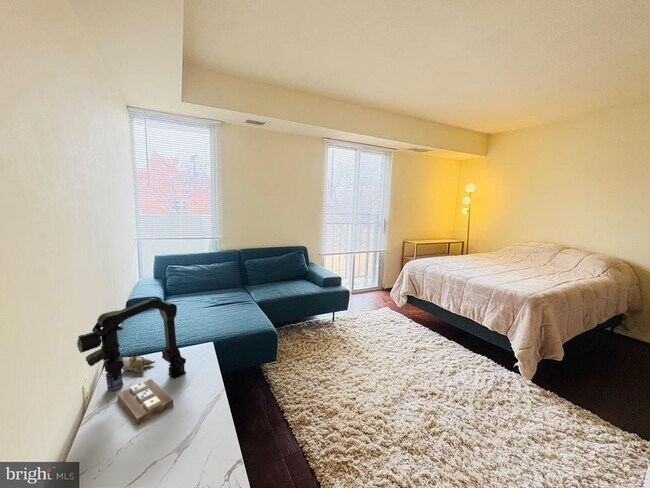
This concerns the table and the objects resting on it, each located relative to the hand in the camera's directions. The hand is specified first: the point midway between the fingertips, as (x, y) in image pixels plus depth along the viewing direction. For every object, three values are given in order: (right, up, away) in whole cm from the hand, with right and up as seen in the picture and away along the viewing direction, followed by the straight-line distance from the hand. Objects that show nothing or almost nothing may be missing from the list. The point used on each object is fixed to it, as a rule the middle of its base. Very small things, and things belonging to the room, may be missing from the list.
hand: (114, 375), depth 124 cm
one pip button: (+18, -13, -2) cm, 22 cm away
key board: (+12, -14, +3) cm, 18 cm away
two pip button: (+6, -11, +7) cm, 15 cm away
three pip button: (+12, -12, +3) cm, 17 cm away
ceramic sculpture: (-9, -10, +28) cm, 31 cm away
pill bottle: (-9, -12, +13) cm, 20 cm away
